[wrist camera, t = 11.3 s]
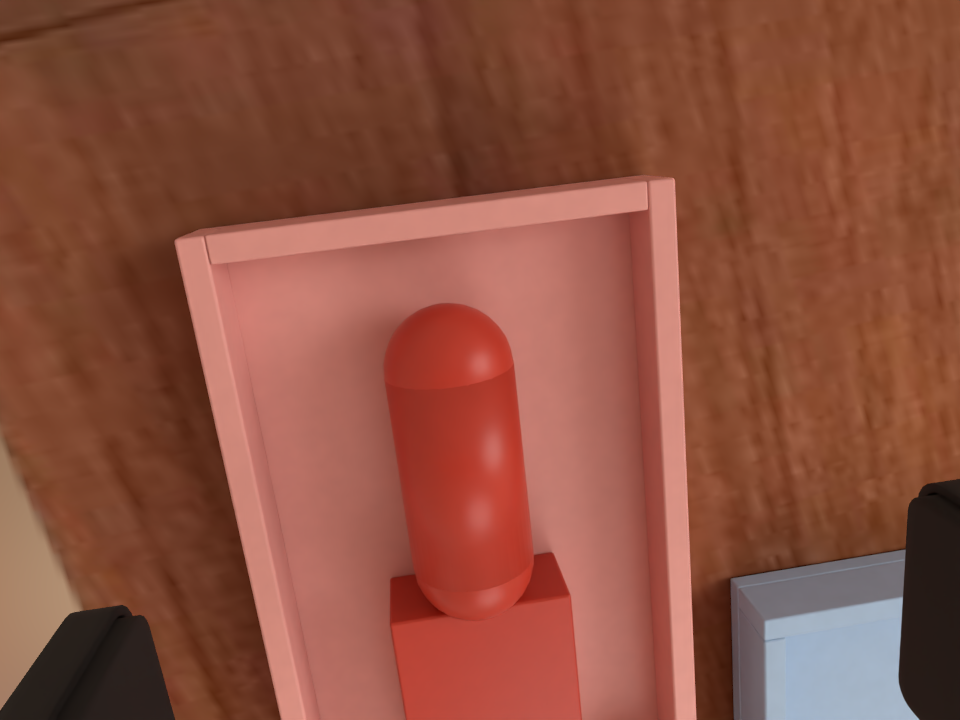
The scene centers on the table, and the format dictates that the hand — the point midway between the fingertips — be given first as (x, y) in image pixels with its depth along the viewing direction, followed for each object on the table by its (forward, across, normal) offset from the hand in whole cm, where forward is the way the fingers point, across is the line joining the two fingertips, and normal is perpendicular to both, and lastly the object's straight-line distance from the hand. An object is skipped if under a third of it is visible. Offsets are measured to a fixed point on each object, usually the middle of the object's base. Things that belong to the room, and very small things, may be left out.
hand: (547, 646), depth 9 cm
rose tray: (+10, +1, +3) cm, 10 cm away
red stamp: (+9, +1, +4) cm, 10 cm away
